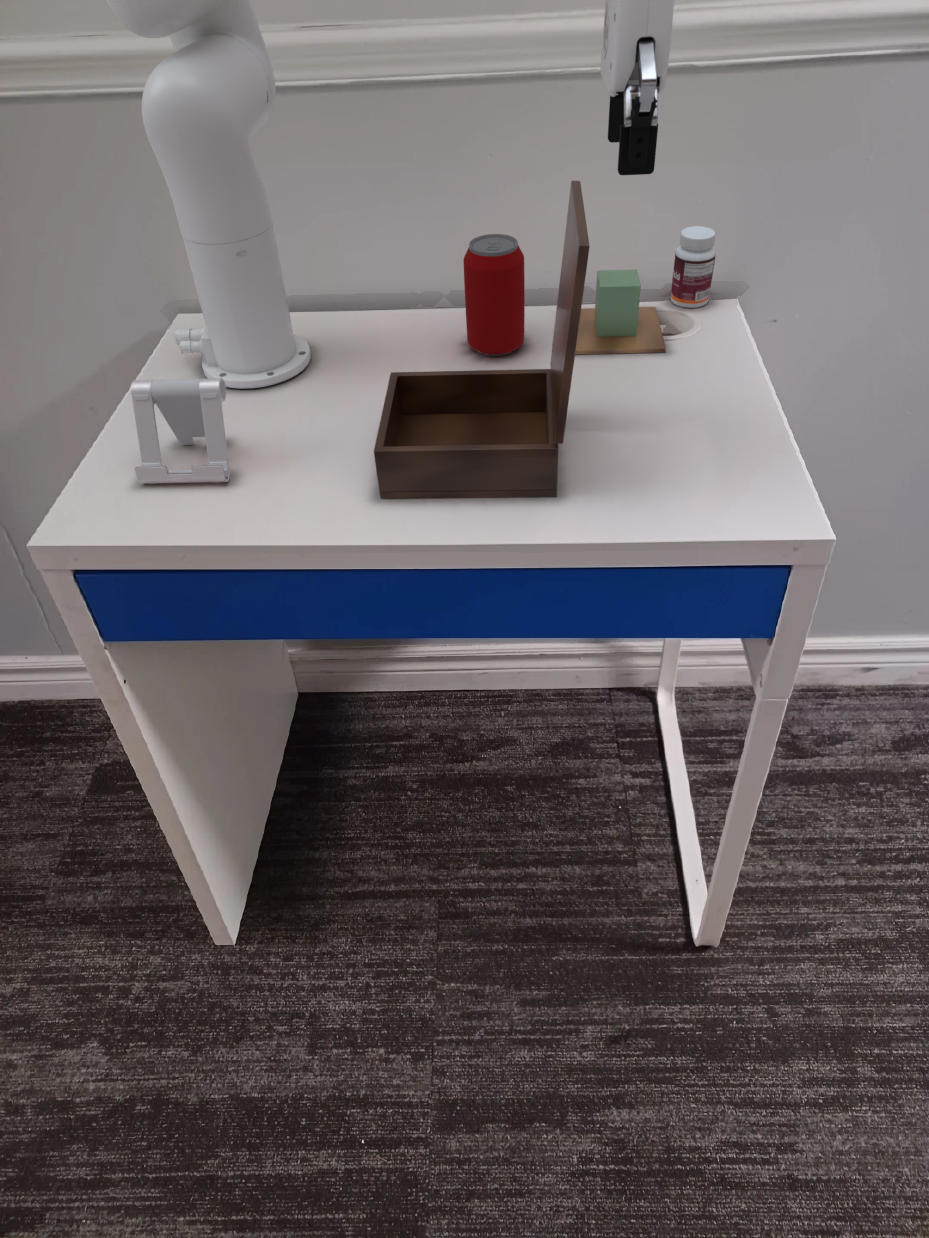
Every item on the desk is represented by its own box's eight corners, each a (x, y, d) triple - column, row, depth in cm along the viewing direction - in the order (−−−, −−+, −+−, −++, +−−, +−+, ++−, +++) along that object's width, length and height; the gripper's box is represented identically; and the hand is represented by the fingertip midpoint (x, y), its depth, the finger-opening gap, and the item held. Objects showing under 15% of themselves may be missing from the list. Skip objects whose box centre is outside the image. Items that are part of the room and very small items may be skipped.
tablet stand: (140, 488, 87) (113, 412, 81) (163, 444, 93) (139, 370, 87) (226, 486, 86) (205, 410, 81) (244, 442, 92) (225, 368, 86)
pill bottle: (669, 292, 113) (677, 224, 107) (707, 292, 113) (717, 224, 107) (670, 308, 110) (678, 239, 104) (709, 309, 109) (720, 240, 103)
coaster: (569, 354, 102) (569, 350, 102) (565, 312, 110) (565, 308, 110) (665, 352, 102) (665, 348, 101) (655, 310, 110) (655, 306, 109)
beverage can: (526, 333, 107) (525, 231, 99) (523, 360, 102) (522, 255, 94) (470, 333, 108) (465, 231, 99) (464, 359, 103) (459, 255, 95)
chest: (380, 499, 84) (373, 451, 80) (395, 417, 94) (390, 372, 91) (556, 497, 83) (558, 448, 79) (552, 415, 93) (554, 368, 89)
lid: (579, 245, 67) (589, 245, 67) (571, 180, 77) (580, 180, 77) (553, 443, 79) (562, 444, 79) (550, 364, 89) (558, 364, 89)
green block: (596, 337, 104) (599, 287, 100) (594, 319, 108) (597, 270, 103) (636, 336, 104) (640, 286, 100) (632, 318, 107) (637, 269, 103)
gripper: (591, -82, 78) (582, 132, 90) (609, -55, 66) (597, 190, 77) (677, -87, 78) (657, 128, 90) (712, -60, 65) (683, 186, 77)
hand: (629, 156), depth 84 cm, fingers open, 9 cm apart
